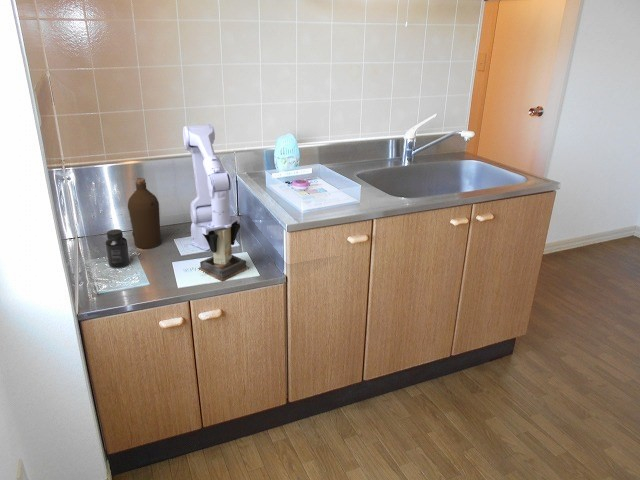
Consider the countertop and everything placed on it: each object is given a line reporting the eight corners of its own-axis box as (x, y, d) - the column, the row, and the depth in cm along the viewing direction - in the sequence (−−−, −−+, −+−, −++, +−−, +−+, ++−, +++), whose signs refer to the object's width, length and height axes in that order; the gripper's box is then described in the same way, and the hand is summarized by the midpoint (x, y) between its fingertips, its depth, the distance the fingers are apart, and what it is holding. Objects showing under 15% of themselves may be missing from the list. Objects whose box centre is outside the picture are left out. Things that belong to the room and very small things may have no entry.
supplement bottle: (134, 261, 171) (130, 229, 166) (120, 270, 165) (116, 237, 160) (117, 258, 173) (113, 226, 168) (104, 266, 167) (98, 234, 162)
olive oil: (166, 238, 189) (160, 175, 178) (157, 250, 179) (149, 184, 169) (139, 237, 189) (131, 174, 179) (128, 249, 180) (119, 183, 169)
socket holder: (198, 269, 167) (197, 261, 166) (225, 258, 176) (224, 250, 174) (222, 281, 160) (221, 273, 159) (248, 268, 169) (248, 260, 168)
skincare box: (225, 265, 163) (224, 231, 158) (213, 263, 164) (211, 229, 159) (232, 256, 169) (231, 223, 164) (220, 255, 170) (218, 222, 165)
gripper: (211, 218, 152) (213, 258, 157) (245, 206, 162) (246, 244, 168) (196, 213, 155) (199, 252, 161) (230, 201, 166) (232, 238, 172)
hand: (222, 247), depth 165 cm, fingers closed on skincare box, 7 cm apart
